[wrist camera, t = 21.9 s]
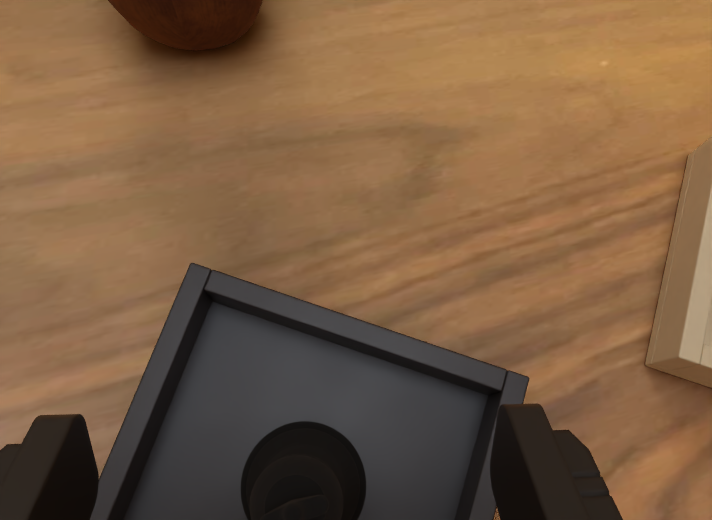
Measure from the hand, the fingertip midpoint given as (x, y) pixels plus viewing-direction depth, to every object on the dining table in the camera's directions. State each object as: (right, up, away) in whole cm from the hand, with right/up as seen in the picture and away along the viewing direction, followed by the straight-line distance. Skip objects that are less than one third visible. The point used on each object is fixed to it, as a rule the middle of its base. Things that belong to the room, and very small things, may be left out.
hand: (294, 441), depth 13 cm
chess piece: (-1, -5, +11) cm, 12 cm away
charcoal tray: (-1, -5, +11) cm, 12 cm away
